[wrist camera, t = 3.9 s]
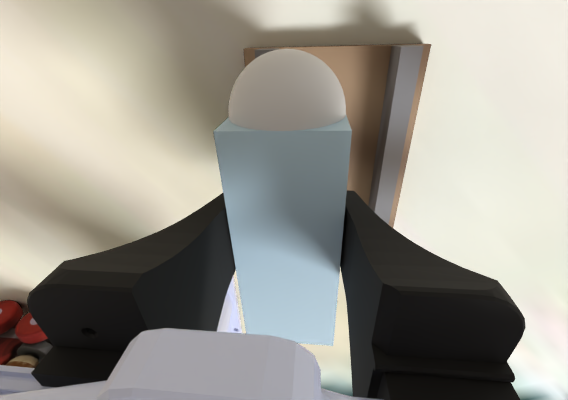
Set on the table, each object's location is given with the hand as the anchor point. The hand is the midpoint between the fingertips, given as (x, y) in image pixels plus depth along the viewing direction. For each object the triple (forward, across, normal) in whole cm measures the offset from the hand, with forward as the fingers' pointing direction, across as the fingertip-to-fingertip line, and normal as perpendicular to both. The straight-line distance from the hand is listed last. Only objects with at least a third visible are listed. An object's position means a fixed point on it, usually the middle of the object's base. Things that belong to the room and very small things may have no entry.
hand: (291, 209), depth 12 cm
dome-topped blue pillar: (+2, 0, 0) cm, 2 cm away
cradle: (+8, -2, 0) cm, 9 cm away
